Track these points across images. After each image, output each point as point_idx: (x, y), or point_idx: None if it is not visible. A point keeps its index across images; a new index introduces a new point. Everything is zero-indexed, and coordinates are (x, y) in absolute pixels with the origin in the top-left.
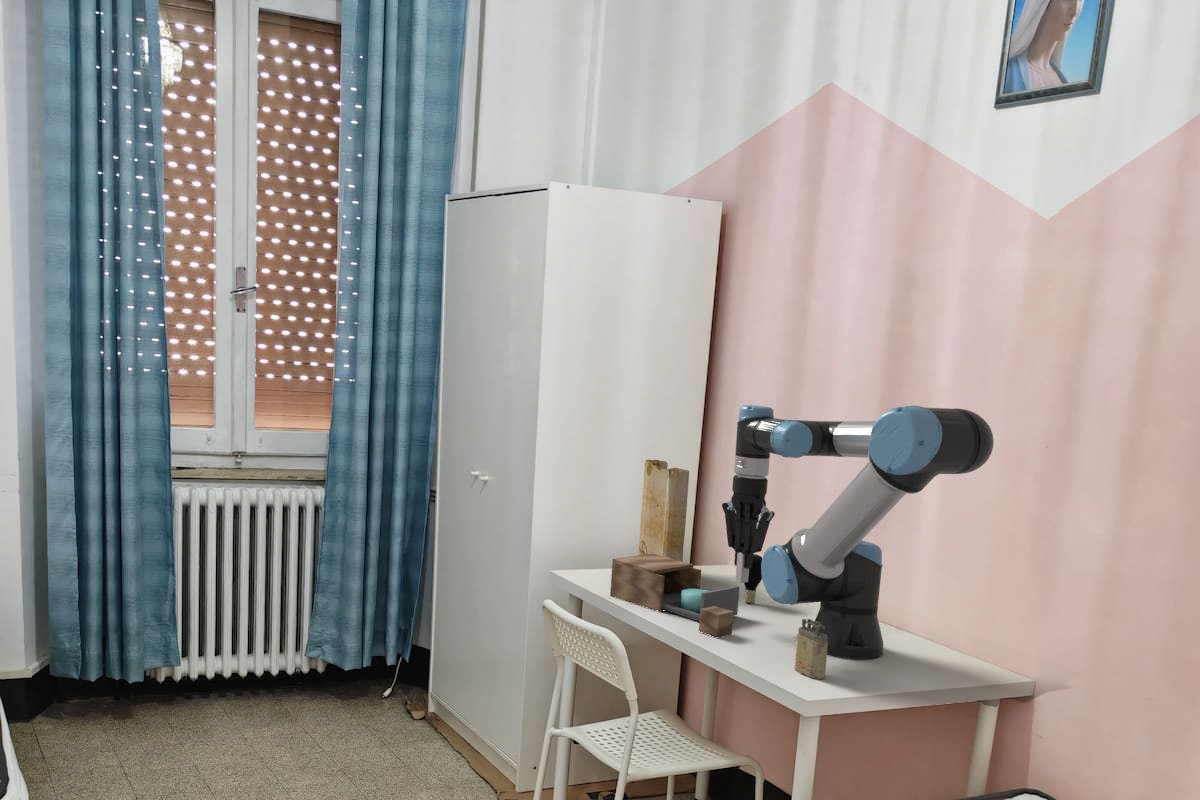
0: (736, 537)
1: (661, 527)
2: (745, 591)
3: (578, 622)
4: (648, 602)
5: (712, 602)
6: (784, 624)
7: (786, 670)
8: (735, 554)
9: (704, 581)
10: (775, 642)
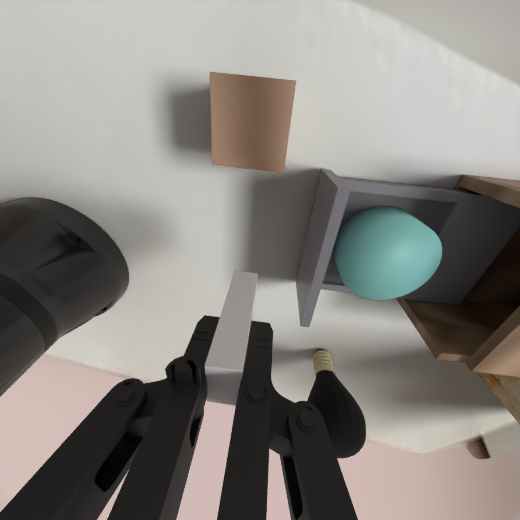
0: (252, 492)
1: None
2: (331, 366)
3: None
4: (517, 182)
5: (320, 220)
6: (214, 299)
7: None
8: (268, 367)
9: (433, 395)
10: (139, 188)
